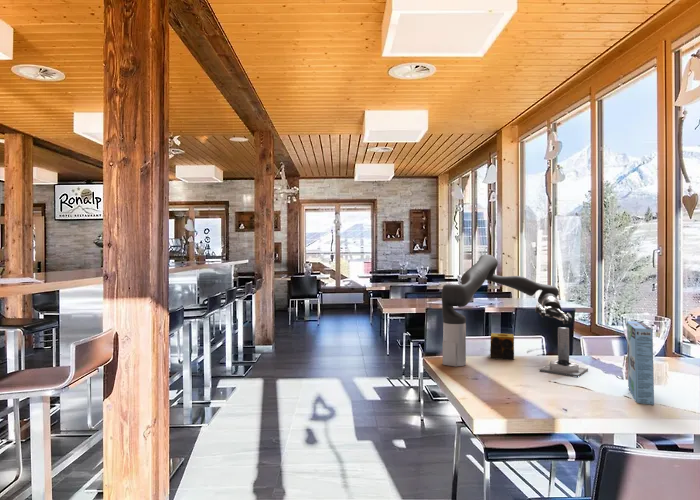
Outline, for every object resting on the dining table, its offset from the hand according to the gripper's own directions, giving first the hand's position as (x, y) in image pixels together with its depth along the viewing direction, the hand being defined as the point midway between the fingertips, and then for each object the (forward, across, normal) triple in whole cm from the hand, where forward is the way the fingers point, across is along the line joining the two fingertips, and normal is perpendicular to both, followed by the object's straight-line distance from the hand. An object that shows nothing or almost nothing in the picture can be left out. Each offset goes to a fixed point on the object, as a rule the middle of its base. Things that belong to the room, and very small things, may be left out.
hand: (554, 318), depth 193 cm
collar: (+11, +8, +16) cm, 21 cm away
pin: (+10, +7, +15) cm, 20 cm away
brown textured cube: (-8, -13, +27) cm, 31 cm away
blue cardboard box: (+39, +25, +5) cm, 46 cm away
